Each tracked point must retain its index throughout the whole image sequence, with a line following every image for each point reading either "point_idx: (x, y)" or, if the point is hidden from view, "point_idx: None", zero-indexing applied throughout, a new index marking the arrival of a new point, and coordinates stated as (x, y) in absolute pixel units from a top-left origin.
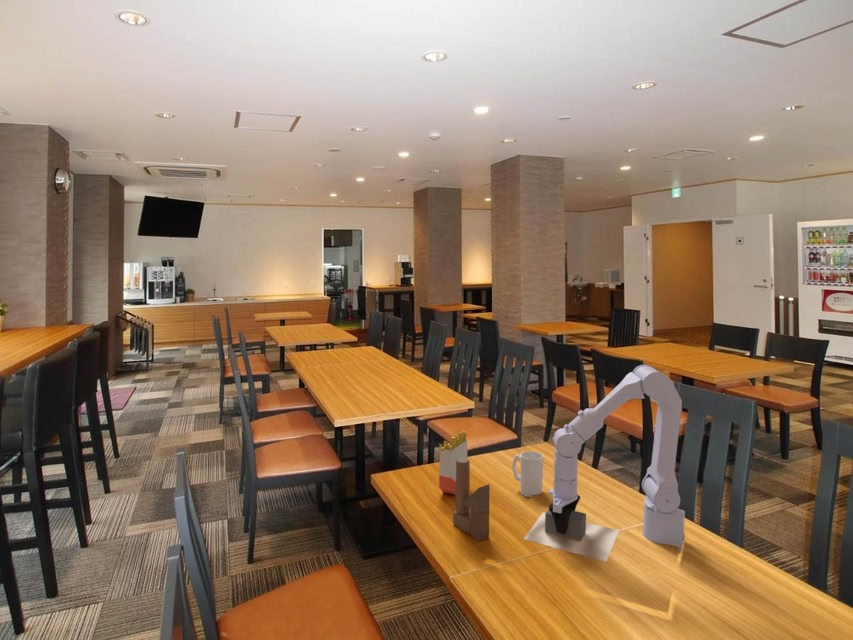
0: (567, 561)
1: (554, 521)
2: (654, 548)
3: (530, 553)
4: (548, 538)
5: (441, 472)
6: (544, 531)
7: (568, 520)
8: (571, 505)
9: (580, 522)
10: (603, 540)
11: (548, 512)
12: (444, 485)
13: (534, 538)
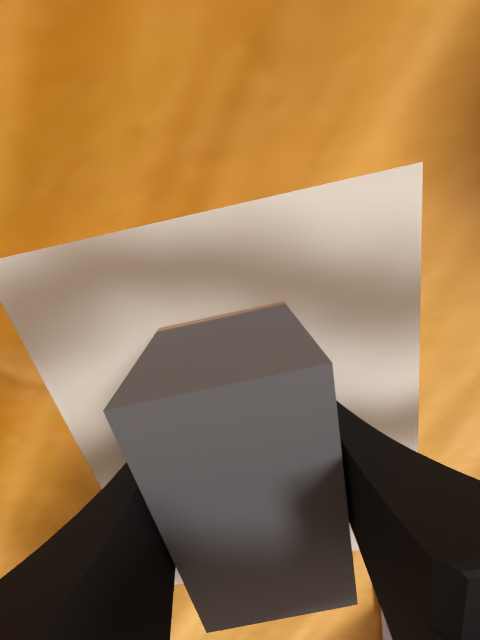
0: (66, 483)
1: (115, 474)
2: (369, 606)
3: None
4: (121, 371)
5: None
6: (173, 315)
7: (175, 567)
8: (379, 580)
9: (205, 625)
10: None
11: (150, 422)
12: None
13: (51, 312)
